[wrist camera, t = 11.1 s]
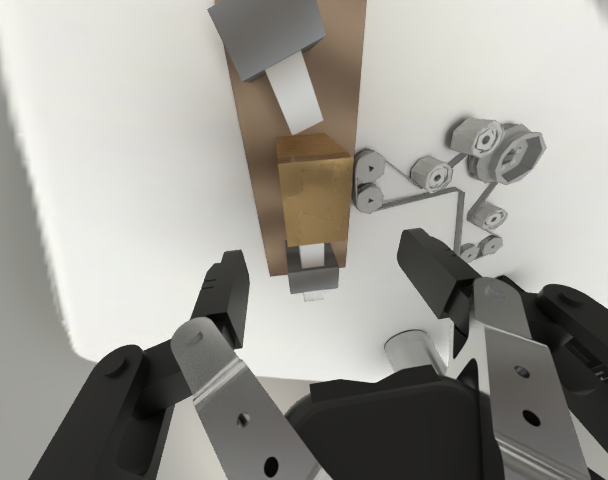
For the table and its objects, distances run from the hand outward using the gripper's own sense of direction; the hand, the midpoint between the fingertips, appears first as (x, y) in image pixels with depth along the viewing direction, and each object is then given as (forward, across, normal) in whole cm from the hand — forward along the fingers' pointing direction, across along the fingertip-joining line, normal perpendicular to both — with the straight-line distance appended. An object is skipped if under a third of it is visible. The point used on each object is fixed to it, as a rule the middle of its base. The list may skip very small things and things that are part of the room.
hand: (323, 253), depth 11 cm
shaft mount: (+14, 0, 0) cm, 14 cm away
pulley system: (+15, -19, +4) cm, 24 cm away
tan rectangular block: (+12, 0, 0) cm, 12 cm away
